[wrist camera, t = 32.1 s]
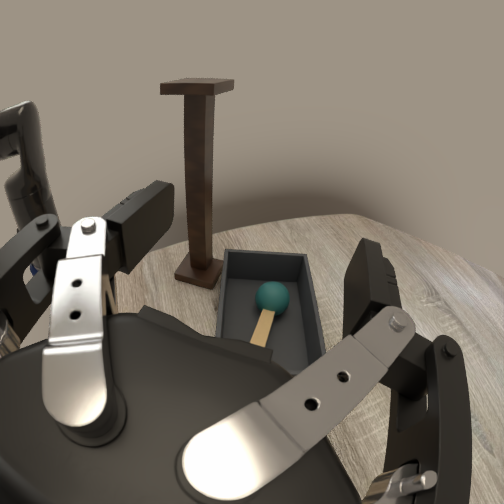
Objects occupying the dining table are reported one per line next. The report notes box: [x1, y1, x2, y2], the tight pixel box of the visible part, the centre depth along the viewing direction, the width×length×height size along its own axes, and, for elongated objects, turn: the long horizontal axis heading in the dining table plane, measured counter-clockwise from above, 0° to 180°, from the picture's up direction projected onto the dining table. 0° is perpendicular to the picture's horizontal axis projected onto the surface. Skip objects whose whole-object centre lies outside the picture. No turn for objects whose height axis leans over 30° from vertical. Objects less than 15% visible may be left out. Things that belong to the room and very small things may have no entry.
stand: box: [160, 78, 234, 289], centre depth 40 cm, size 7×7×32 cm
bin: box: [215, 249, 326, 377], centre depth 39 cm, size 13×21×7 cm, turn 0°
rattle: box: [250, 281, 290, 347], centre depth 37 cm, size 5×17×5 cm, turn 165°
